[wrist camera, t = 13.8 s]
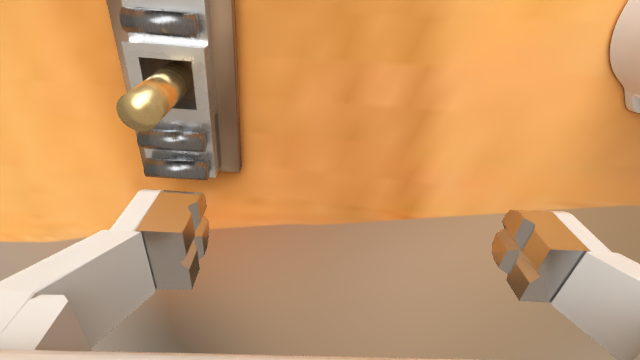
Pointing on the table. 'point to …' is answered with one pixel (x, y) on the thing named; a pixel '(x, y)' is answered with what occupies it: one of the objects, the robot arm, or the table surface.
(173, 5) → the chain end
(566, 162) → the table surface
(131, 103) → the pin
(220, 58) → the chain base
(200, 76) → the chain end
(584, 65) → the table surface
